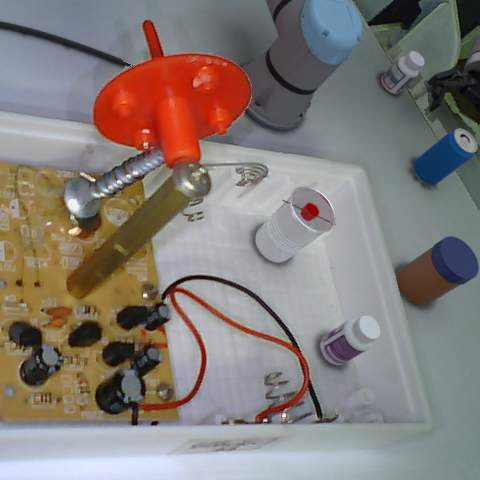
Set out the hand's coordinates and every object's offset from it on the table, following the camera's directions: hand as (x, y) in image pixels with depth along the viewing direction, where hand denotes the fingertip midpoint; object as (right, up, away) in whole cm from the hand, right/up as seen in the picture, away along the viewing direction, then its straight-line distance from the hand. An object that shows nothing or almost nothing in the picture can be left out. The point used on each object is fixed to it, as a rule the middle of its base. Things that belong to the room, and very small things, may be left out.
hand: (460, 128), depth 161 cm
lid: (-10, -26, -26) cm, 38 cm away
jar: (-15, -31, -17) cm, 39 cm away
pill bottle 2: (-11, +11, +11) cm, 19 cm away
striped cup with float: (-42, -24, -27) cm, 56 cm away
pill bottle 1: (-33, -41, -33) cm, 62 cm away
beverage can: (-7, -9, +1) cm, 12 cm away
